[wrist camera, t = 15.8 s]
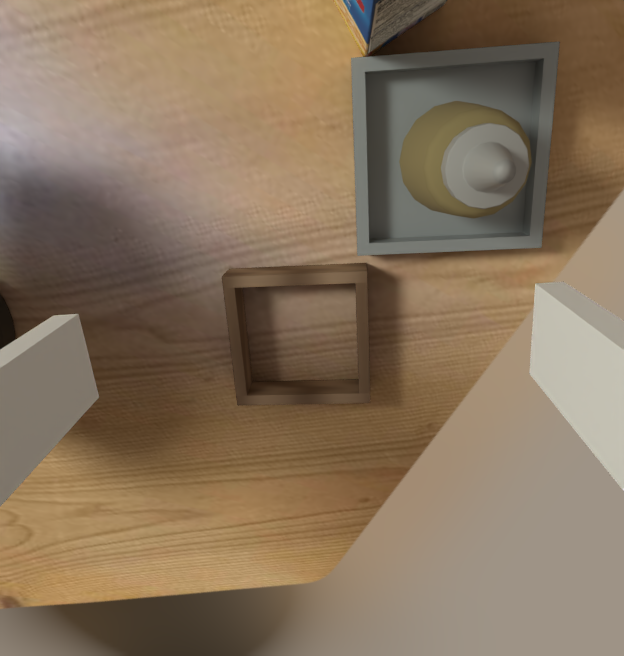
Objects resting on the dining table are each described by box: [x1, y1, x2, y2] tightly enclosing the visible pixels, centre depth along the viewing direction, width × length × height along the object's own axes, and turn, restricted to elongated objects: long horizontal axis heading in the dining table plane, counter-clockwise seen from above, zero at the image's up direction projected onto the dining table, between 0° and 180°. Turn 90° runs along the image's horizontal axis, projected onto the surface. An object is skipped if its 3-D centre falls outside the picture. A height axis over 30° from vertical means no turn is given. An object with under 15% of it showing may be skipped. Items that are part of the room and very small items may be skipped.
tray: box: [351, 42, 560, 256], centre depth 42 cm, size 15×15×2 cm
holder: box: [222, 263, 370, 405], centre depth 48 cm, size 12×12×3 cm
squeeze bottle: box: [399, 101, 532, 219], centre depth 34 cm, size 8×8×18 cm
